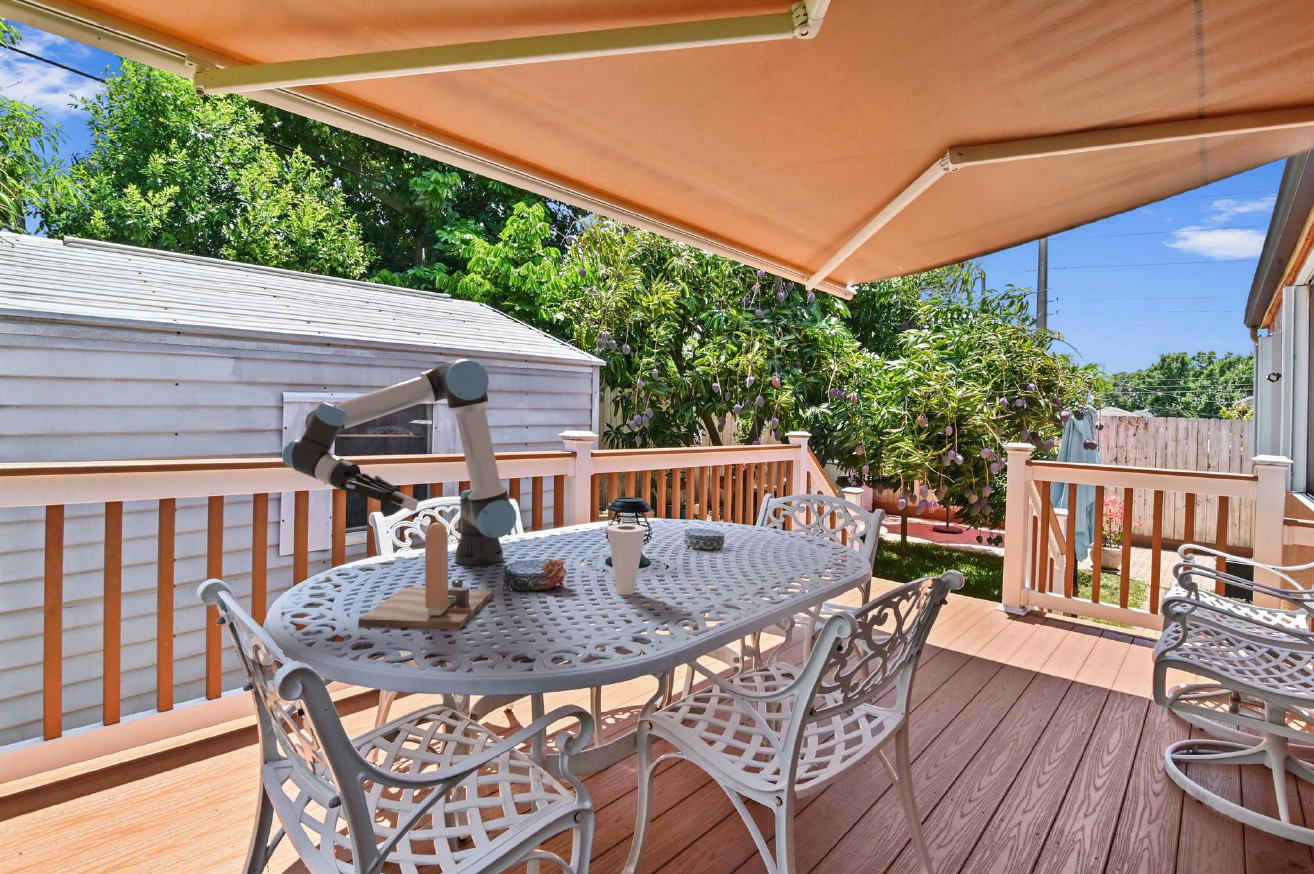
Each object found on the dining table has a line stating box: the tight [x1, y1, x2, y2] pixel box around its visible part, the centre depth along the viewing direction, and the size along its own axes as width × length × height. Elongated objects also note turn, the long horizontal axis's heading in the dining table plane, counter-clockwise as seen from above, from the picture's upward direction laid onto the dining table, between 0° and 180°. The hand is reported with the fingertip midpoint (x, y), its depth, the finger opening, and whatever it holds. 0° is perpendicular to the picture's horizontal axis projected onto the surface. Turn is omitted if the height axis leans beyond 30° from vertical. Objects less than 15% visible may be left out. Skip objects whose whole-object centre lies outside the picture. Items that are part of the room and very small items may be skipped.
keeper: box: [448, 579, 470, 608], centre depth 175 cm, size 12×9×4 cm
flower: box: [539, 557, 568, 591], centre depth 192 cm, size 10×9×8 cm
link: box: [424, 522, 467, 615], centre depth 170 cm, size 20×5×22 cm, turn 179°
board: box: [358, 586, 494, 630], centre depth 172 cm, size 26×24×2 cm
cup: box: [606, 523, 647, 596], centre depth 188 cm, size 11×11×18 cm
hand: (415, 505), depth 177 cm, fingers closed
